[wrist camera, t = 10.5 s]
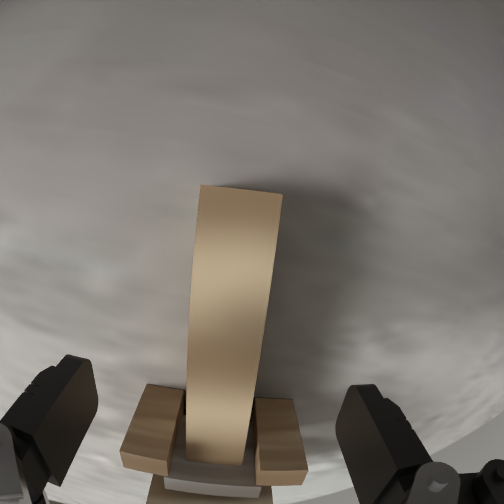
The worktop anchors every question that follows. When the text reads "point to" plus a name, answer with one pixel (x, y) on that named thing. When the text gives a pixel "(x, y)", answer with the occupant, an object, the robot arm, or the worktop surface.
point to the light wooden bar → (225, 341)
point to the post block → (165, 433)
